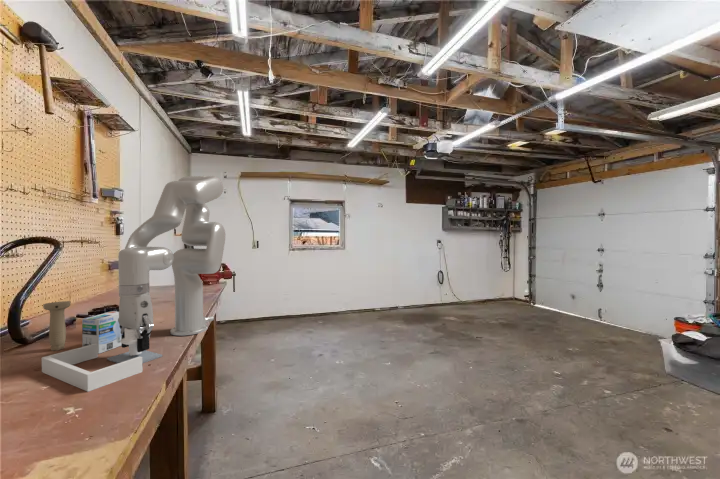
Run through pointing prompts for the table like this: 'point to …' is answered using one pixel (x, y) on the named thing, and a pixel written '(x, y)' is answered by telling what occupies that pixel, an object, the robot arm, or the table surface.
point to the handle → (57, 324)
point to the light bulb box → (102, 331)
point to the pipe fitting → (131, 340)
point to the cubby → (81, 378)
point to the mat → (145, 357)
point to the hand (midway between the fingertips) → (135, 348)
